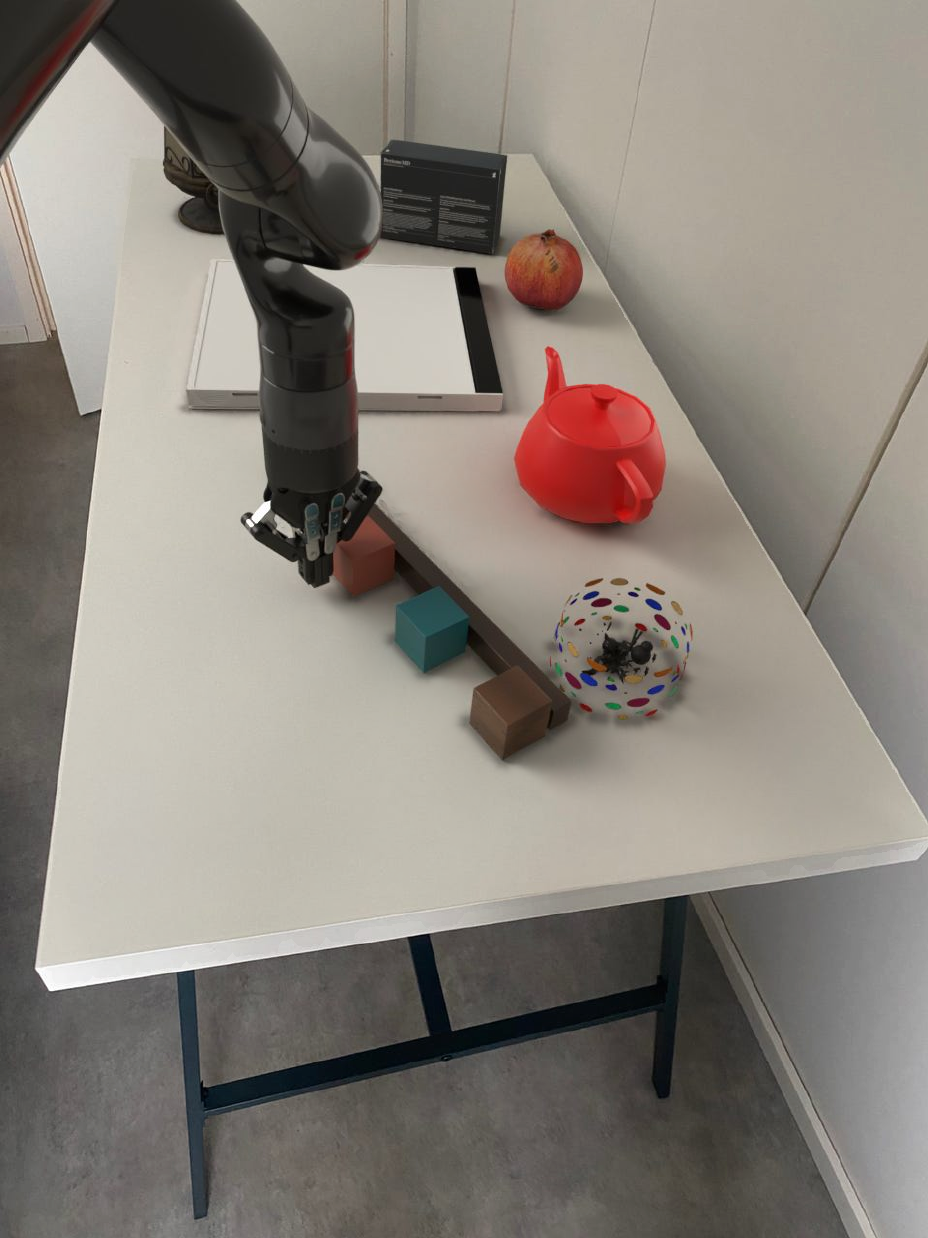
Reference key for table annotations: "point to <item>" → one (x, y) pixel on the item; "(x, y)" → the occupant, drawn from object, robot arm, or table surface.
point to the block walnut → (510, 712)
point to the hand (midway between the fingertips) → (316, 580)
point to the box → (442, 195)
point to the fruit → (544, 271)
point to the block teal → (431, 629)
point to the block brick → (365, 559)
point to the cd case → (363, 340)
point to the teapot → (591, 452)
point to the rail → (481, 629)
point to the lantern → (192, 188)
